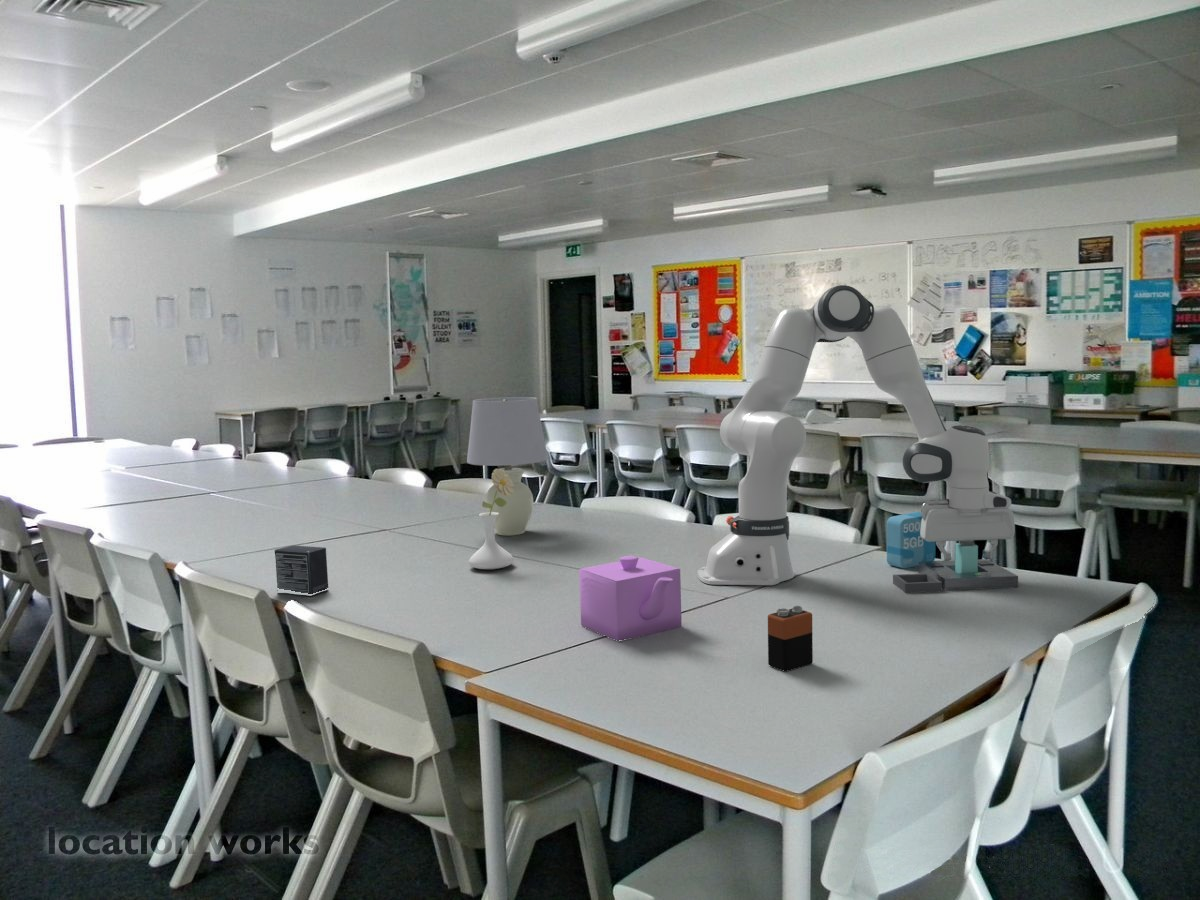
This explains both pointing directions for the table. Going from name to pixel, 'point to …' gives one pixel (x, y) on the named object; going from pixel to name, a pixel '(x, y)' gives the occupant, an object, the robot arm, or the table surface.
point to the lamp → (507, 453)
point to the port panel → (969, 575)
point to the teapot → (630, 598)
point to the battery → (790, 638)
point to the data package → (907, 542)
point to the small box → (301, 569)
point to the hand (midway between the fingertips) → (966, 559)
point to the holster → (917, 583)
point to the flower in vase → (491, 551)
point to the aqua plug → (966, 557)
